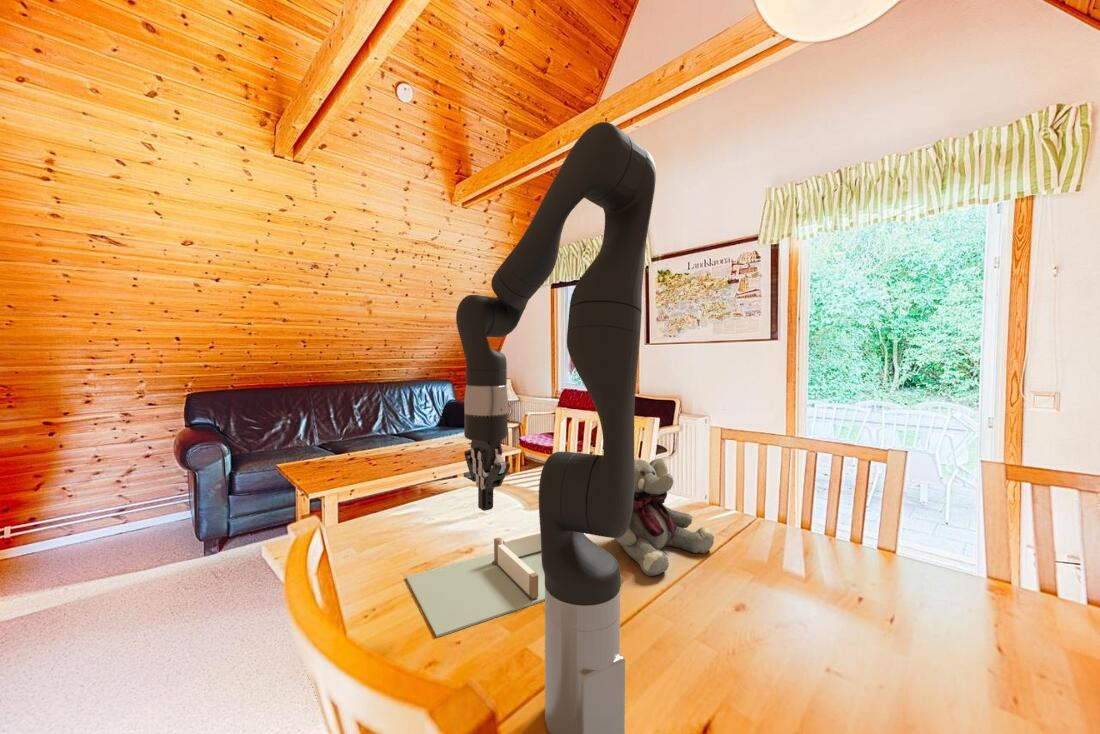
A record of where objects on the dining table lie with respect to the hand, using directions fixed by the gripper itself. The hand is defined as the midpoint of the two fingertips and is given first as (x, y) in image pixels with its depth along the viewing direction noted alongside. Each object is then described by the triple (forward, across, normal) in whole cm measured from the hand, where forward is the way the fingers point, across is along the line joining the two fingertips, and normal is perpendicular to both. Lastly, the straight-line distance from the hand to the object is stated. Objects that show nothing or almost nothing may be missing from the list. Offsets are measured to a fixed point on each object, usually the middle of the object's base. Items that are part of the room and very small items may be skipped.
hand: (485, 508), depth 78 cm
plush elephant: (+17, 0, -42) cm, 45 cm away
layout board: (+17, +6, -7) cm, 20 cm away
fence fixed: (+17, +11, -16) cm, 26 cm away
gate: (+17, +3, -9) cm, 19 cm away
